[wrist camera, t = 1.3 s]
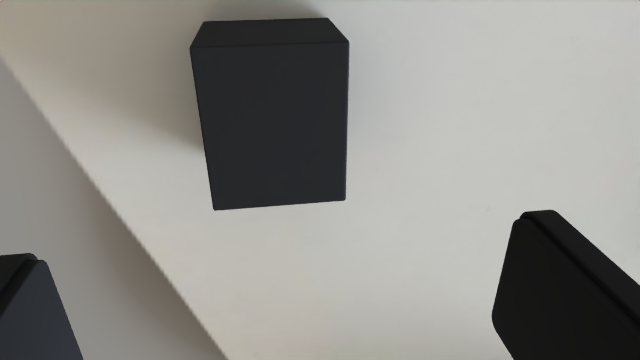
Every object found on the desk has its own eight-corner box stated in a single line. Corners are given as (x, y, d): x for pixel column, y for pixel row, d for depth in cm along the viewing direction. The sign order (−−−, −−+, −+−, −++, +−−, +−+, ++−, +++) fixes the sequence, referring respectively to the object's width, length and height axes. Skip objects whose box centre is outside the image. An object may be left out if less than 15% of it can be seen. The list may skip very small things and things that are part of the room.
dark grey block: (202, 21, 17) (188, 46, 14) (328, 17, 18) (350, 40, 14) (220, 158, 20) (213, 211, 16) (328, 151, 21) (345, 201, 17)
